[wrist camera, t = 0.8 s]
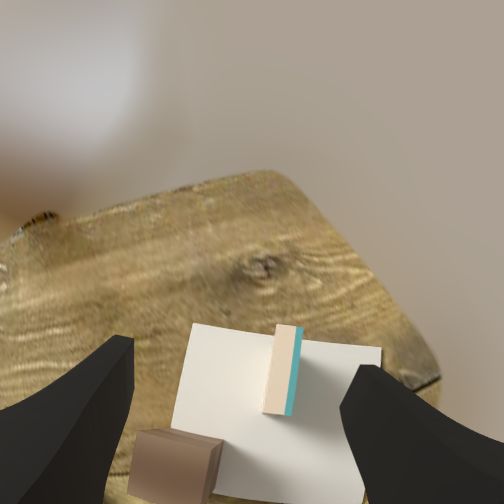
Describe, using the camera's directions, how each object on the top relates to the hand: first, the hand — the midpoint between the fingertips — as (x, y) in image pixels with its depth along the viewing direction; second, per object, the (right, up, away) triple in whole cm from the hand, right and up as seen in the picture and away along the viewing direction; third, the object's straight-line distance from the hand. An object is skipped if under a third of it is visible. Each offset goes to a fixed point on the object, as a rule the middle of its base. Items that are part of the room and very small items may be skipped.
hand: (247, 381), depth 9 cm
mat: (+2, -8, +11) cm, 14 cm away
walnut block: (-4, -11, +10) cm, 15 cm away
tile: (+2, -5, +12) cm, 14 cm away
